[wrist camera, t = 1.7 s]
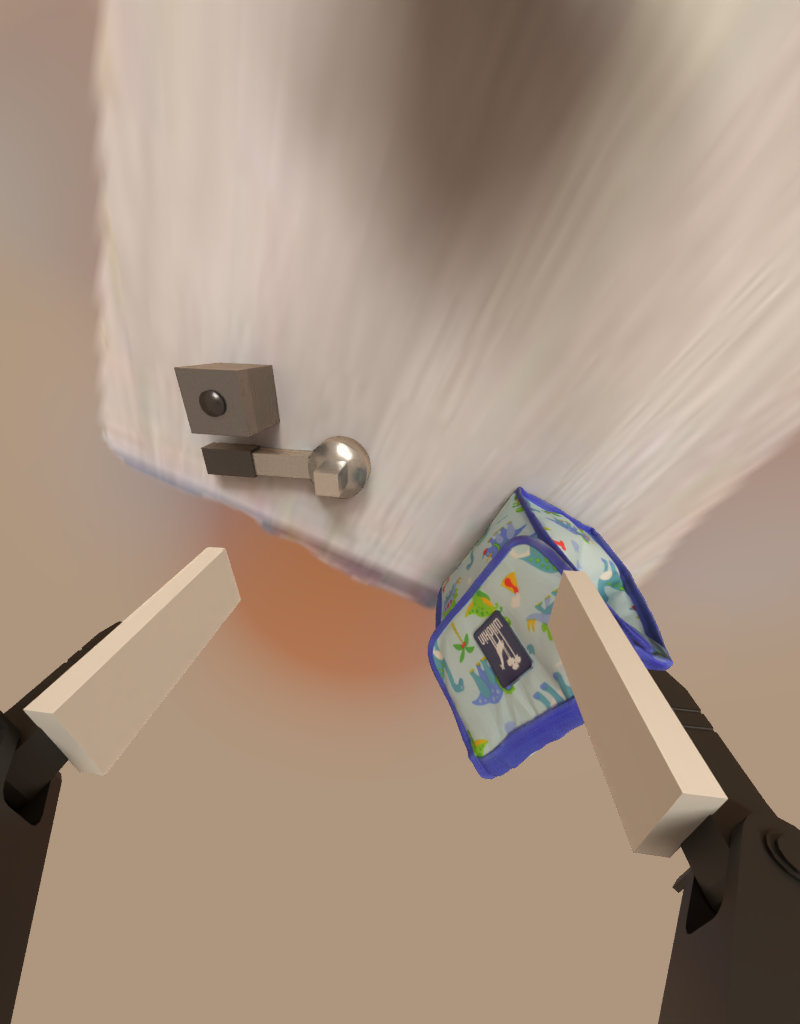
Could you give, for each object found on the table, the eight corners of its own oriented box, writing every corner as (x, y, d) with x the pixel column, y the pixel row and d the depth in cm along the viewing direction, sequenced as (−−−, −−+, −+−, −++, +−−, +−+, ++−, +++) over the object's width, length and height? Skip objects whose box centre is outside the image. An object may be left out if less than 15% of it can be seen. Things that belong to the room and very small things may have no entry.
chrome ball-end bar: (209, 427, 46) (170, 442, 39) (370, 438, 44) (357, 455, 37) (222, 480, 50) (189, 501, 43) (370, 491, 48) (359, 516, 41)
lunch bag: (501, 471, 44) (566, 614, 21) (601, 524, 46) (759, 708, 23) (423, 580, 54) (410, 756, 31) (508, 620, 56) (553, 812, 33)
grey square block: (219, 362, 41) (172, 367, 34) (271, 365, 41) (235, 370, 34) (231, 418, 45) (190, 433, 37) (279, 421, 44) (247, 437, 37)
